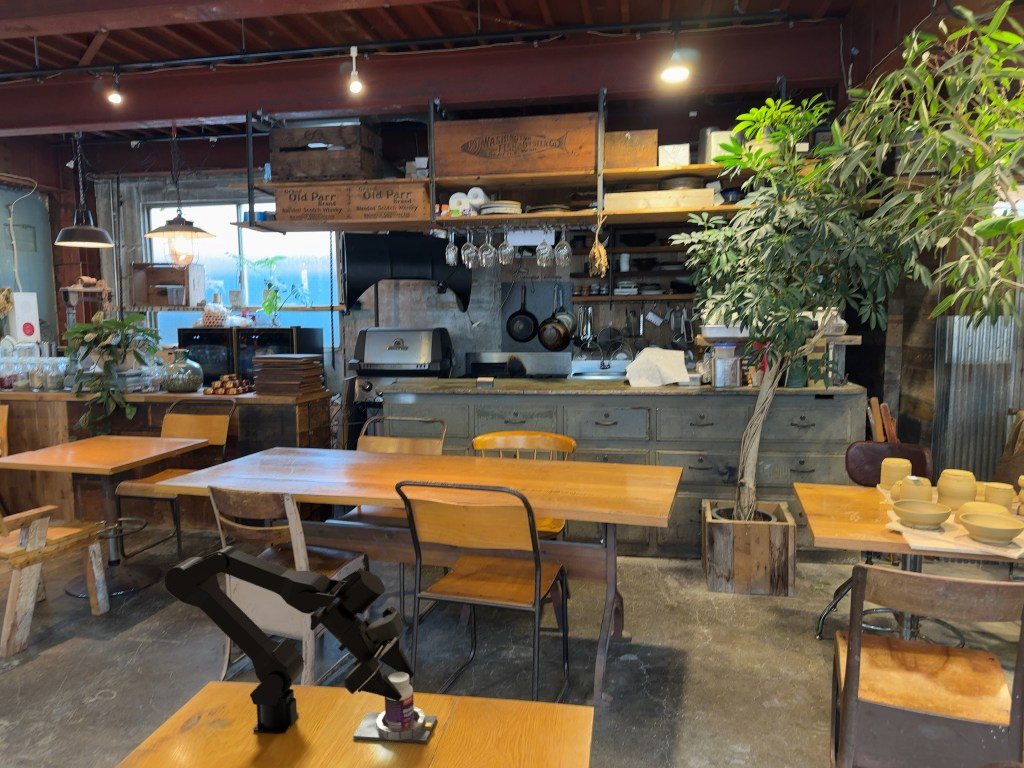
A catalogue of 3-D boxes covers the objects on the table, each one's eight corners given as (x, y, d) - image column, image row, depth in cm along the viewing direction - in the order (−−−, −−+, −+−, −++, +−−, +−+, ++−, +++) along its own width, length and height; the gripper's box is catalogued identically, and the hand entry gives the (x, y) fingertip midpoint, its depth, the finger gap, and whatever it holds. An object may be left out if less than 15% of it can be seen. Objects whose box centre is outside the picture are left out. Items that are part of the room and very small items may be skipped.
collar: (370, 738, 126) (369, 730, 126) (385, 711, 135) (385, 704, 135) (425, 742, 125) (425, 734, 125) (437, 714, 134) (437, 707, 134)
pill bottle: (408, 735, 127) (406, 685, 126) (381, 732, 128) (379, 682, 127) (418, 719, 132) (416, 670, 131) (392, 716, 133) (390, 668, 132)
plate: (353, 739, 127) (353, 735, 127) (368, 715, 135) (367, 711, 135) (426, 744, 125) (426, 740, 125) (436, 719, 133) (436, 715, 133)
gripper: (358, 621, 119) (422, 685, 119) (391, 582, 138) (446, 637, 137) (318, 662, 121) (380, 725, 121) (355, 618, 140) (409, 673, 139)
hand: (406, 687), depth 129 cm, fingers open, 8 cm apart
